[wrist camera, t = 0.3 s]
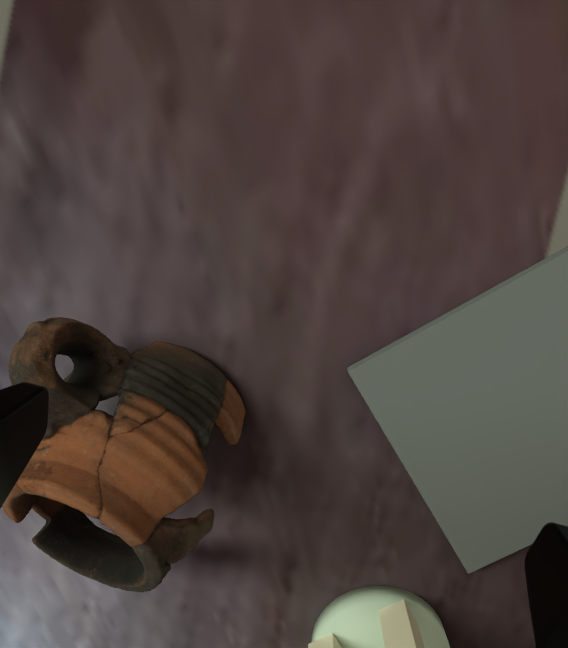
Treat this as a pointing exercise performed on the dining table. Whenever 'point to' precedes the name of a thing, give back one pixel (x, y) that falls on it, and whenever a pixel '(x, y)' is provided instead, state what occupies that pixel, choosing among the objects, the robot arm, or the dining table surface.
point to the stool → (378, 621)
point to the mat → (483, 412)
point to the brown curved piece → (119, 451)
